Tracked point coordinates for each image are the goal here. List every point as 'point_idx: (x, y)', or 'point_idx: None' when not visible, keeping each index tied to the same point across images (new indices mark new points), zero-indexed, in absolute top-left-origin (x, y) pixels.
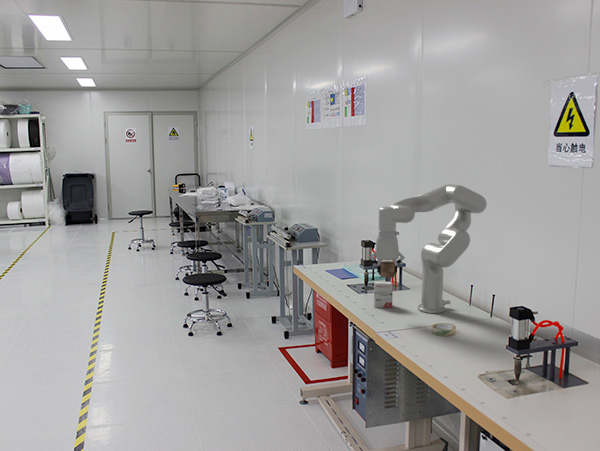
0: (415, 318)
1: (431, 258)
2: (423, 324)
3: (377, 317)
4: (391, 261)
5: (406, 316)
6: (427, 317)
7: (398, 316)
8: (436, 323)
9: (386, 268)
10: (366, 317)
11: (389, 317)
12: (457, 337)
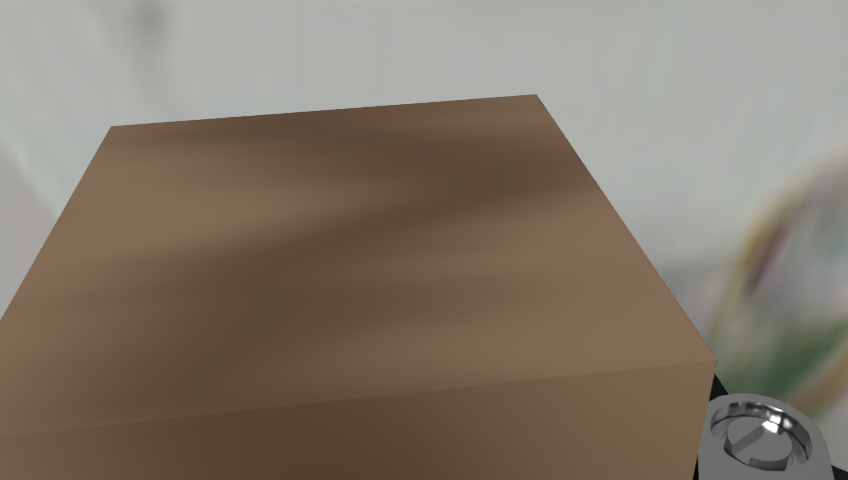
0: (646, 64)
1: None
2: (676, 233)
3: (219, 96)
4: (605, 429)
5: (561, 5)
6: (787, 7)
7: (467, 20)
8: (805, 186)
9: None
10: (87, 117)
11: (360, 74)
12: (830, 444)
